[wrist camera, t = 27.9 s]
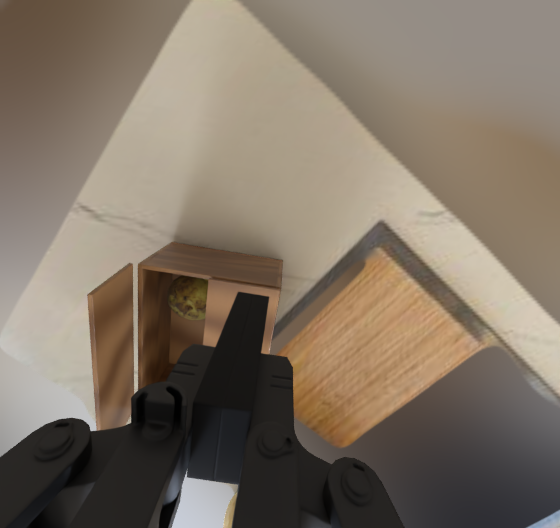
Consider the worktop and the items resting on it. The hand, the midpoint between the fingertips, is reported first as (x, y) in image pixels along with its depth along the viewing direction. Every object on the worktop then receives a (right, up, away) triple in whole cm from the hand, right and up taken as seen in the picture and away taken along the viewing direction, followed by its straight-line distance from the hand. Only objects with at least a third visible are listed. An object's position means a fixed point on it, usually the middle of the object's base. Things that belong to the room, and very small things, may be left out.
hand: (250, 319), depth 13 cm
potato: (-6, 0, +28) cm, 29 cm away
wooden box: (-8, -5, +30) cm, 31 cm away
